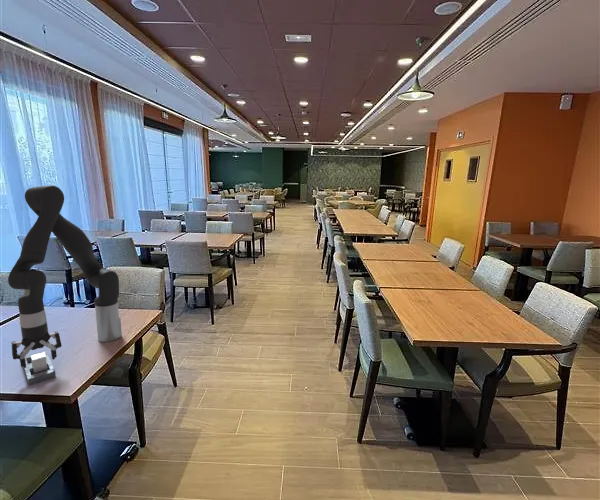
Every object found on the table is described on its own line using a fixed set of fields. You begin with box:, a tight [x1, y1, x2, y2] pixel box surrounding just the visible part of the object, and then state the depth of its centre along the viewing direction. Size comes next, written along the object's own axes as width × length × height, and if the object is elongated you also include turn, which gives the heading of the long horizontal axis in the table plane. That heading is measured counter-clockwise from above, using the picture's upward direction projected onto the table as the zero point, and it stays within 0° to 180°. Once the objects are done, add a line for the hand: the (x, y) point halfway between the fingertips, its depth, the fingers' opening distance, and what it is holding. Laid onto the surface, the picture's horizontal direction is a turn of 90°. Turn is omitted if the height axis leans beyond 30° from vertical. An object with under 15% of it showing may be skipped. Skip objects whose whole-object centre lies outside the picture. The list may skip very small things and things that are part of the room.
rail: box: [23, 350, 57, 386], centre depth 128 cm, size 8×20×2 cm, turn 44°
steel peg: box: [31, 351, 49, 375], centre depth 124 cm, size 4×4×8 cm
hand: (39, 362), depth 124 cm, fingers open, 8 cm apart
